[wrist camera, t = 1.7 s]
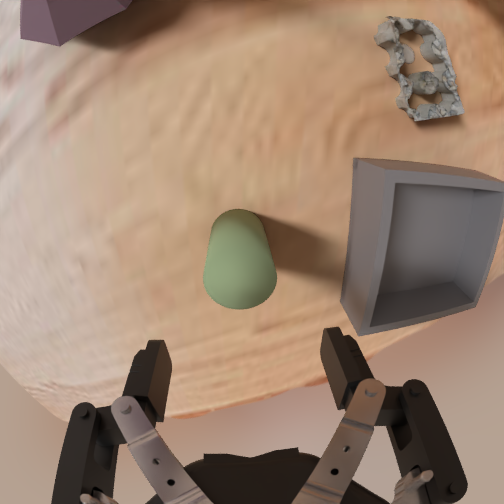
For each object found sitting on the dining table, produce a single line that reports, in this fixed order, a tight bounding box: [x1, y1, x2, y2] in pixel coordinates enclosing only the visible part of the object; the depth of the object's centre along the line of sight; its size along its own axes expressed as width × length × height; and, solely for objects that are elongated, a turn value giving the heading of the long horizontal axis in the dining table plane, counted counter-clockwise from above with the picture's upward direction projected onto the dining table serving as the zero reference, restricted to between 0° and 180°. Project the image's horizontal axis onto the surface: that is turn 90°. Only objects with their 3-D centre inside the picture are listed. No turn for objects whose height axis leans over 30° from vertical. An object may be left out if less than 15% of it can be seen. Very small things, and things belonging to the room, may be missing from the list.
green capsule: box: [203, 209, 277, 309], centre depth 22 cm, size 5×5×8 cm
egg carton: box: [374, 16, 464, 121], centre depth 17 cm, size 11×8×4 cm
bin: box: [340, 158, 504, 336], centre depth 24 cm, size 16×18×6 cm
